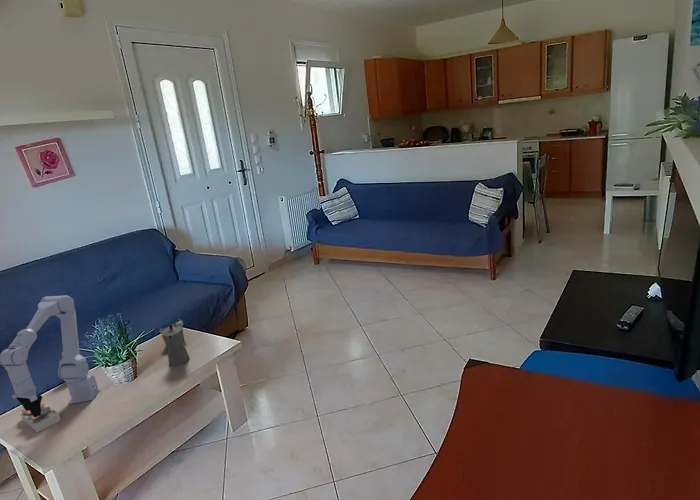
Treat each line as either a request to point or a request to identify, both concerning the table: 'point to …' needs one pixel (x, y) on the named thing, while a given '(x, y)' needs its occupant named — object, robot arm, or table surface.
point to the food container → (179, 324)
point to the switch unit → (42, 419)
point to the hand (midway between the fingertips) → (33, 412)
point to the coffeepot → (175, 345)
